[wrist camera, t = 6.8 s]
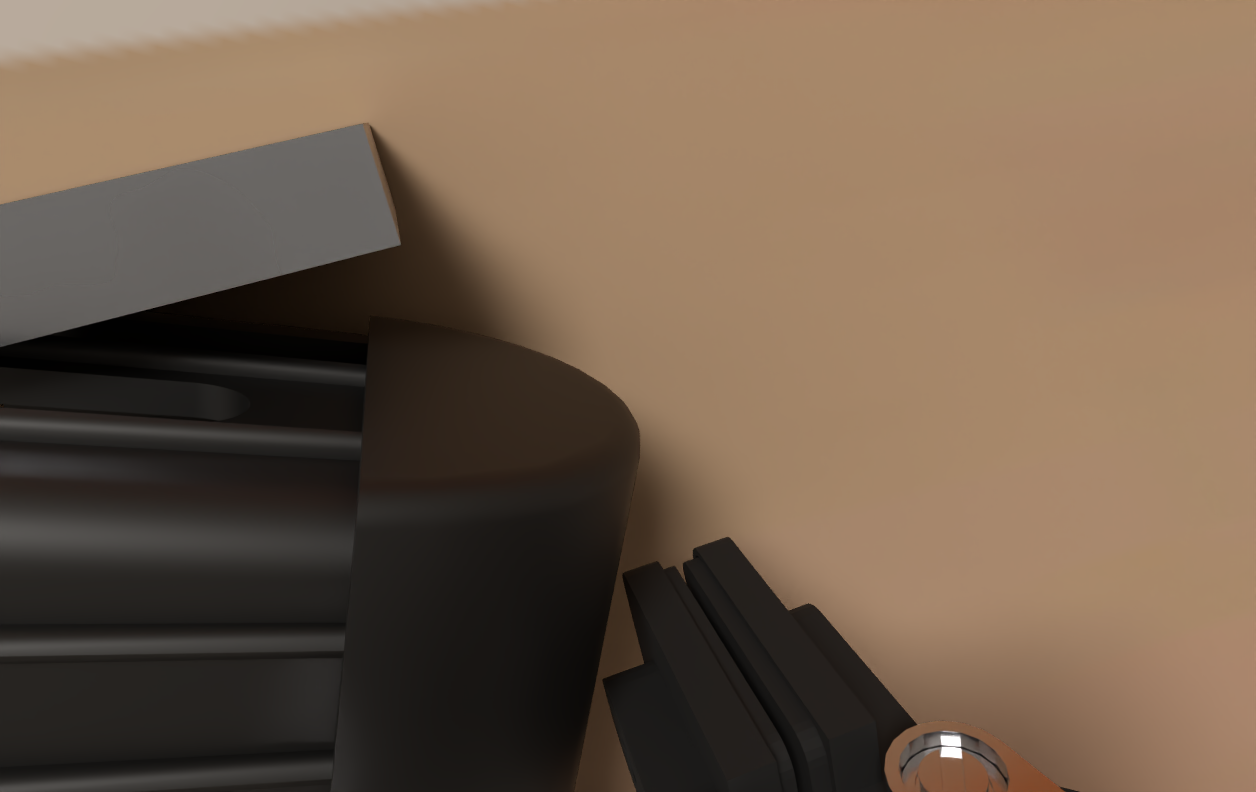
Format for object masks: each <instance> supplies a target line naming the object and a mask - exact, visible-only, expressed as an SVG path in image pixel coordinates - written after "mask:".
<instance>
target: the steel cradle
mask: <svg viewBox="0 0 1256 792" xmlns="http://www.w3.org/2000/svg"><path fill="white" fill-rule="evenodd" d="M399 245H401V242H400V235H399V228H398V222H397V215H396V209H395V205H394V202H393V199H392V195H391V192H390V189H389V186H388V183H387V180H386V176H385V173H384V170H383V167H382V164H381V160H380V157H379V154H378V151H377V148H376V145H375V141H374V138H373V135H372V132H371V129H370V125H369V123H364V124H359V125H355V126H350V127H346V128H341V129H337V130H332V131H328V132H323V133H319V134H314V135H310V136H305V137H301V138H297V139H292V140H288V141H283V142H279V143H274V144H270V145H265V146H261V147H256V148H252V149H247V150H243V151H238V152H234V153H229V154H225V155H220V156H216V157H212V158H207V159H203V160H198V161H194V162H189V163H185V164H180V165H176V166H171V167H167V168H162V169H158V170H153V171H149V172H144V173H140V174H136V175H131V176H127V177H122V178H118V179H113V180H109V181H104V182H100V183H95V184H91V185H86V186H82V187H77V188H73V189H68V190H64V191H59V192H55V193H51V194H46V195H42V196H37V197H33V198H28V199H24V200H19V201H15V202H10V203H6V204H1V205H0V347H2V346H6V345H10V344H14V343H18V342H22V341H26V340H30V339H33V338H37V337H41V336H45V335H49V334H53V333H57V332H61V331H65V330H69V329H73V328H77V327H81V326H85V325H88V324H92V323H96V322H100V321H104V320H108V319H112V318H116V317H120V316H124V315H128V314H132V313H136V312H139V311H143V310H147V309H151V308H155V307H159V306H163V305H167V304H171V303H175V302H179V301H183V300H187V299H191V298H194V297H198V296H202V295H206V294H210V293H214V292H218V291H222V290H226V289H230V288H234V287H238V286H242V285H245V284H249V283H253V282H257V281H261V280H265V279H269V278H273V277H277V276H281V275H285V274H289V273H293V272H297V271H300V270H304V269H308V268H312V267H316V266H320V265H324V264H328V263H332V262H336V261H340V260H344V259H348V258H351V257H355V256H359V255H363V254H367V253H371V252H375V251H379V250H383V249H387V248H391V247H395V246H399Z"/></svg>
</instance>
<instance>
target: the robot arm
mask: <svg viewBox="0 0 1256 792" xmlns="http://www.w3.org/2000/svg"><path fill="white" fill-rule="evenodd" d="M683 569H684V574H685V579H686V583H687V585H686V583H685V581H684V580H683V578H682V577H681V575H680V573H679V572H678V570H677V569H676V567H675V566H672V567H669V568H666V569H664V570H663V568H662V567H661V565H660V564H659V562H657V561H656V562H653V563H650V564H647V565H645V566H642V567H639V568H636V569H633V570H630V571H627V572H624V573H623V574H622V576H623V582H624V586H625V590H626V594H627V598H628V602H629V606H630V610H631V613H632V617H633V621H634V625H635V629H636V633H637V637H638V641H639V645H640V649H641V653H642V657H643V661H644V664H642V665H640V666H637V667H634V668H632V669H629V670H626V671H623V672H621V673H618V674H615V675H612V676H610V677H607V678H604V679H603V684H604V688H605V692H606V696H607V699H608V703H609V706H610V710H611V713H612V717H613V720H614V724H615V727H616V731H617V734H618V737H619V740H620V744H621V747H622V750H623V753H624V756H625V759H626V762H627V765H628V768H629V771H630V774H631V777H632V780H633V783H634V786H635V788H636V791H637V792H1078V791H1074V790H1070V789H1066V788H1062V787H1059V786H1057V785H1056V784H1055V783H1054V782H1052V781H1051V780H1050V779H1049V778H1047V777H1046V776H1045V775H1044V774H1042V773H1041V772H1040V771H1039V770H1037V769H1036V768H1035V767H1034V766H1032V765H1031V764H1030V763H1029V762H1027V761H1026V760H1025V759H1024V758H1022V757H1021V756H1020V755H1019V754H1017V753H1016V752H1015V751H1014V750H1012V749H1011V748H1010V747H1009V746H1007V745H1006V744H1005V743H1004V742H1002V741H1001V740H999V739H998V738H996V737H995V736H993V735H991V734H990V733H988V732H986V731H985V730H983V729H980V728H977V727H974V726H971V725H968V724H966V723H961V722H952V721H944V720H942V721H933V722H925V723H921V724H919V725H917V724H916V723H915V722H914V720H913V719H912V718H911V717H910V716H909V715H908V713H907V712H906V711H905V710H904V709H903V708H902V706H901V705H900V704H899V703H898V702H897V701H896V699H895V698H894V697H893V696H892V695H891V694H890V692H889V691H888V690H887V689H886V688H885V687H884V685H883V684H882V683H881V682H880V681H879V680H878V678H877V677H876V676H875V675H874V674H873V673H872V671H871V670H870V669H869V668H868V667H867V666H866V664H865V663H864V662H863V661H862V660H861V659H860V657H859V656H858V655H857V654H856V653H855V652H854V650H853V649H852V648H851V647H850V646H849V645H848V643H847V642H846V641H845V640H844V639H843V638H842V636H841V635H840V634H839V633H838V632H837V631H836V629H835V628H834V627H833V626H832V625H831V624H830V622H829V621H828V620H827V619H826V618H825V617H824V615H823V614H822V613H821V612H820V611H819V610H818V609H817V608H816V607H815V606H814V605H811V604H809V603H808V604H806V605H803V606H800V607H797V608H795V609H792V610H789V611H788V610H787V609H786V608H785V606H784V605H783V604H782V603H781V601H780V600H779V599H778V598H777V596H776V595H775V594H774V593H773V591H772V590H771V589H770V587H769V586H768V585H767V584H766V582H765V581H764V580H763V579H762V577H761V576H760V575H759V574H758V572H757V571H756V570H755V569H754V567H753V566H752V565H751V564H750V562H749V561H748V560H747V558H746V557H745V556H744V555H743V553H742V552H741V551H740V550H739V548H738V547H737V546H736V545H735V543H734V542H733V541H732V540H731V539H730V538H729V537H726V538H723V539H720V540H717V541H714V542H711V543H708V544H705V545H702V546H700V547H697V548H694V549H693V559H692V560H689V561H686V562H684V563H683Z"/></svg>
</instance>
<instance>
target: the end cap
mask: <svg viewBox="0 0 1256 792" xmlns="http://www.w3.org/2000/svg"><path fill="white" fill-rule="evenodd" d="M0 404H4V408H0V792H574V788H575V783H576V778H577V773H578V768H579V763H580V758H581V753H582V748H583V742H584V737H585V732H586V727H587V722H588V717H589V712H590V707H591V702H592V697H593V692H594V687H595V682H596V676H597V671H598V666H599V661H600V656H601V651H602V646H603V641H604V636H605V631H606V626H607V621H608V616H609V611H610V605H611V600H612V595H613V590H614V585H615V580H616V575H617V570H618V565H619V560H620V555H621V550H622V545H623V540H624V534H625V529H626V524H627V519H628V514H629V509H630V504H631V499H632V494H633V489H634V484H635V479H636V474H637V469H638V463H639V458H640V433H639V428H638V425H637V423H636V421H635V419H634V417H633V416H632V414H631V412H630V411H629V409H628V407H627V406H626V405H625V403H624V402H623V401H622V400H621V399H620V398H619V397H618V396H617V395H616V394H614V393H613V392H612V391H611V390H610V389H609V388H608V387H607V386H605V385H604V384H602V383H600V382H599V381H597V380H595V379H594V378H592V377H590V376H589V375H587V374H586V373H584V372H582V371H581V370H579V369H577V368H575V367H573V366H570V365H568V364H566V363H564V362H562V361H559V360H557V359H555V358H553V357H550V356H547V355H545V354H542V353H539V352H536V351H533V350H531V349H528V348H525V347H522V346H519V345H515V344H512V343H508V342H505V341H501V340H498V339H494V338H491V337H487V336H483V335H479V334H474V333H470V332H465V331H461V330H456V329H452V328H447V327H441V326H436V325H430V324H425V323H419V322H413V321H407V320H399V319H392V318H384V317H377V316H370V322H369V333H368V336H366V335H360V334H353V333H343V332H334V331H324V330H315V329H305V328H296V327H286V326H277V325H267V324H258V323H248V322H239V321H229V320H220V319H210V318H201V317H191V316H182V315H172V314H163V313H153V312H144V311H139V312H136V313H132V314H128V315H124V316H120V317H116V318H112V319H108V320H104V321H100V322H96V323H92V324H88V325H85V326H81V327H77V328H73V329H69V330H65V331H61V332H57V333H53V334H49V335H45V336H41V337H37V338H33V339H30V340H26V341H22V342H18V343H14V344H10V345H6V346H2V347H0Z"/></svg>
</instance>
